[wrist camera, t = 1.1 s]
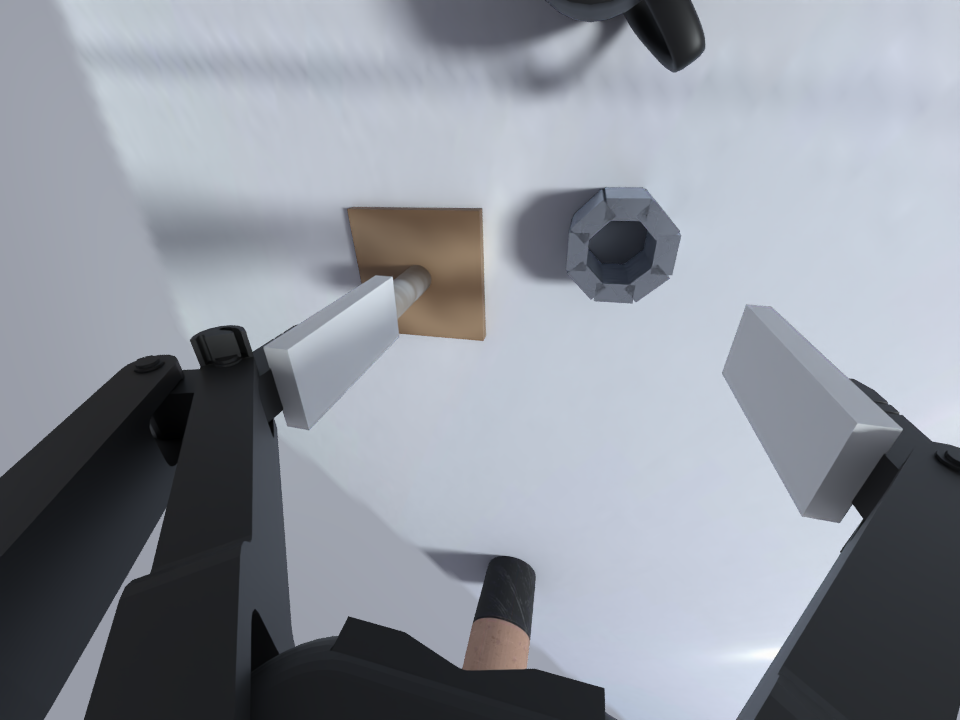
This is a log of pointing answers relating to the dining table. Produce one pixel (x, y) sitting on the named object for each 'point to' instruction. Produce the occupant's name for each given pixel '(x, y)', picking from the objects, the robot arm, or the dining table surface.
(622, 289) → the ring
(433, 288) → the shaft stand
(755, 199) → the dining table surface
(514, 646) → the travel mug
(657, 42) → the mug
